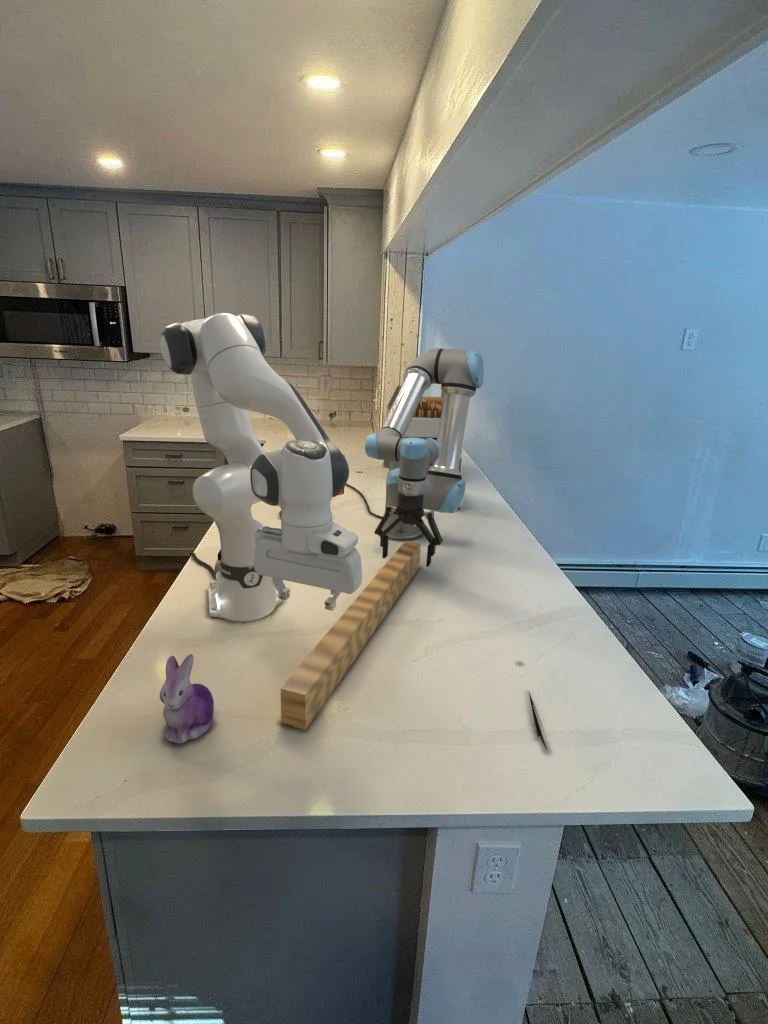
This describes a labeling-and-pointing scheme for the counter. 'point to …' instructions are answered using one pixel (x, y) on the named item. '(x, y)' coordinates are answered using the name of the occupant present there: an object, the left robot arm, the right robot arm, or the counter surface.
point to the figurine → (185, 702)
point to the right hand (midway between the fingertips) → (406, 561)
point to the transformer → (421, 422)
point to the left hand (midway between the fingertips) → (306, 603)
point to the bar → (346, 639)
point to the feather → (536, 721)
